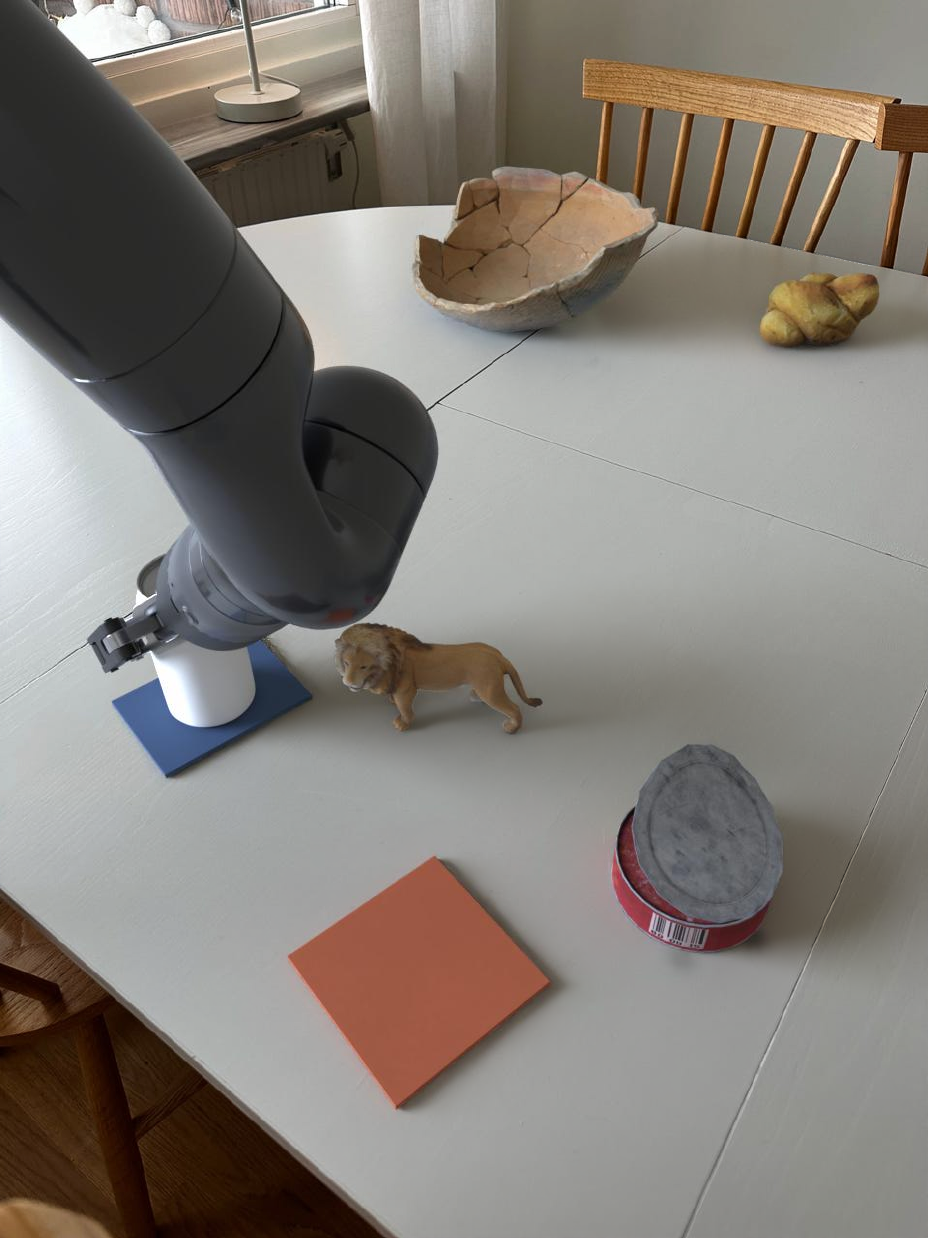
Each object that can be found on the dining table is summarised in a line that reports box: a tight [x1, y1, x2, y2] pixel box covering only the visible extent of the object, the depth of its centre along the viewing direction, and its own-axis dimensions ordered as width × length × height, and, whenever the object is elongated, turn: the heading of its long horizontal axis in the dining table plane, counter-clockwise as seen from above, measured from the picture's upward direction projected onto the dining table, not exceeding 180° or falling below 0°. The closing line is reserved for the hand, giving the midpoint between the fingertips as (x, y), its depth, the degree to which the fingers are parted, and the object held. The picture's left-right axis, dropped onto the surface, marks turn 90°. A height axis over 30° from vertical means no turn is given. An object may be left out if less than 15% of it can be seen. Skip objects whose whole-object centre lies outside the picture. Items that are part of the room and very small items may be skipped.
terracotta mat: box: [286, 855, 551, 1110], centre depth 57 cm, size 11×11×1 cm
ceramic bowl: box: [411, 166, 660, 333], centre depth 118 cm, size 30×27×15 cm
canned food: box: [610, 743, 784, 953], centre depth 60 cm, size 11×10×10 cm
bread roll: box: [758, 271, 880, 349], centre depth 113 cm, size 13×10×8 cm
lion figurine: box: [334, 622, 544, 734], centre depth 69 cm, size 15×5×9 cm, turn 95°
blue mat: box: [111, 639, 313, 779], centre depth 73 cm, size 12×9×1 cm
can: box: [135, 553, 255, 728], centre depth 69 cm, size 6×6×12 cm
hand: (184, 619), depth 69 cm, fingers open, 8 cm apart
